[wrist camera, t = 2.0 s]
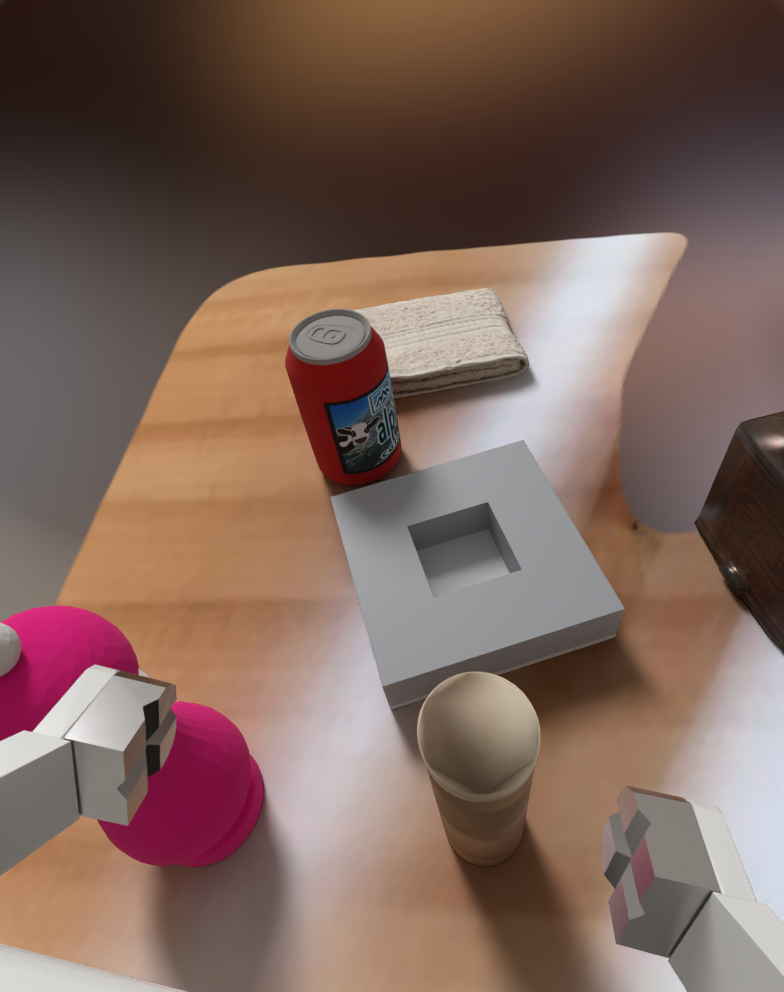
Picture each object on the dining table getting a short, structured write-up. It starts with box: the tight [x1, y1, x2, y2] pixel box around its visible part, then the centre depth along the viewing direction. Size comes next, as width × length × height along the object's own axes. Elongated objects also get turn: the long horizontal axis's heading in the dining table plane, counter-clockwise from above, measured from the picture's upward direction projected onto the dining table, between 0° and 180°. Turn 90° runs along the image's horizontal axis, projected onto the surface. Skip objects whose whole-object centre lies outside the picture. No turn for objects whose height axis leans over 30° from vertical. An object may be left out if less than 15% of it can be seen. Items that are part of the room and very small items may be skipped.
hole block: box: [330, 440, 625, 710], centre depth 39 cm, size 14×14×4 cm
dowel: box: [417, 672, 541, 867], centre depth 26 cm, size 4×4×14 cm
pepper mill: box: [0, 606, 264, 867], centre depth 26 cm, size 7×7×20 cm
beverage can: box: [285, 309, 401, 485], centre depth 44 cm, size 7×7×12 cm
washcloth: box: [353, 288, 529, 398], centre depth 55 cm, size 12×18×3 cm, turn 98°
